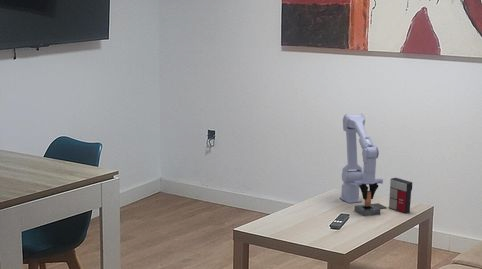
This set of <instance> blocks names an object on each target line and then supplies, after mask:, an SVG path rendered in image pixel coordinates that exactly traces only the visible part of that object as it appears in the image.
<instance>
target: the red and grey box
mask: <svg viewBox="0 0 482 269" xmlns="http://www.w3.org/2000/svg"><path fill="white" fill-rule="evenodd" d="M389 182H390V183H389V184H390V185H389V202H388V208H389V209H391V210H395V211H398V212H400V213H403V214H408V213H410V211H411V201H412V200H411V199H412V198H411V197H412V190H413V182H412V181H411V180H410V181H409V180H405V179H402V178H399V177H392V178H390V181H389Z"/></svg>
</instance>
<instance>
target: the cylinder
mask: <svg viewBox="0 0 482 269" xmlns="http://www.w3.org/2000/svg"><path fill="white" fill-rule="evenodd" d="M371 204H372V199H371V191H370V190H368V191H367V199H366V200H364V204H363V205H365V206H371Z"/></svg>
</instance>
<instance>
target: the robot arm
mask: <svg viewBox="0 0 482 269" xmlns="http://www.w3.org/2000/svg"><path fill="white" fill-rule="evenodd" d="M365 125H366V118H365V115H364V114H363V113H360V114H359V113H358V114H354V113H353V114H352V113H351V114H344V115H343V118H342V128H343V129H342V130H343V132H345V134H346V152H347V153H346V156H347V164H346V165H345V166H344V167H343V168H342V170H341V172H342V173H341V180H342V184H341V192H340V193H341V194H340V196H339V199H341V200H343V201H345V202H346V203H348V204H351V203H361V202H362V201H363V200H364V201H365V200H366V199H367V191H371V200H373V199H374V196H375V194H376V191H377V190H378V188H379V184H382V185H383V184H384V180H383V179H382V178H376V169H377V159H378V157H379V154H380V153H379V148H378V146H376V145H375V144H374V142H373V141H372V138H371V136H370V135H368V133H367V131H366V128H365ZM357 135H358V137H359V138H358V142H359V144H360V147H361V150H362V151H361V152H362V153H361V156H362V162H363V167H362V166H360V165H359V164H358V148H357ZM360 192H361V194H362V199H360V196H359V195H360Z"/></svg>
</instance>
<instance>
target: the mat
mask: <svg viewBox="0 0 482 269" xmlns="http://www.w3.org/2000/svg"><path fill="white" fill-rule="evenodd" d="M371 205H373V206H375V207H377V208H379V209H381V210H382V209H383V210H384V209H387V208H388V207H387V206H386V205H385V206H384V205H383V204H381V203H379V202H377V203H371Z"/></svg>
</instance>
